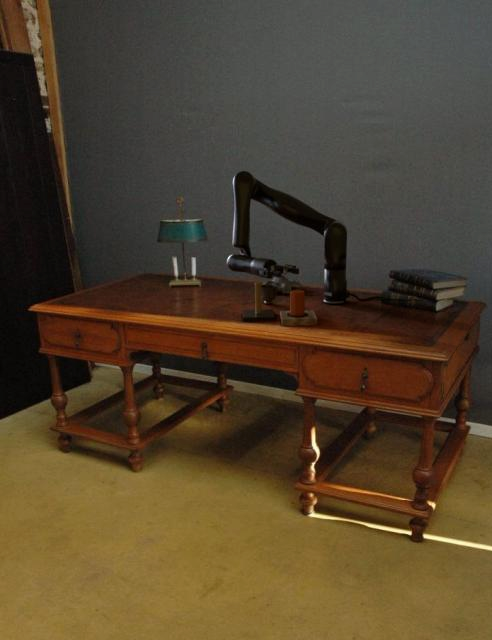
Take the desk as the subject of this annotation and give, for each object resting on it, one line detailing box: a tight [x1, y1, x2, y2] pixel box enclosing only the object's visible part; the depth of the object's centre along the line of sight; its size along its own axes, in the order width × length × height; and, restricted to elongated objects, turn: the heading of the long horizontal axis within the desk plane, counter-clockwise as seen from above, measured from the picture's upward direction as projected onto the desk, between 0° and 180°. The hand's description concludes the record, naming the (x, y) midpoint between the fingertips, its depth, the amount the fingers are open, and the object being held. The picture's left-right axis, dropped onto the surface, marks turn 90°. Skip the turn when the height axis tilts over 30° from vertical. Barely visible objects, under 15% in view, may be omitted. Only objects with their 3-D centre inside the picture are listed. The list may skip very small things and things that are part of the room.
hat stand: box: [242, 281, 276, 322], centre depth 256 cm, size 12×12×14 cm
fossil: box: [262, 274, 303, 295], centre depth 301 cm, size 18×11×15 cm
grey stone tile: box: [279, 309, 318, 327], centre depth 251 cm, size 13×13×2 cm
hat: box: [287, 289, 308, 317], centre depth 249 cm, size 8×8×9 cm
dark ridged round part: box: [261, 283, 278, 306], centre depth 277 cm, size 8×7×8 cm
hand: (289, 273), depth 249 cm, fingers open, 8 cm apart
